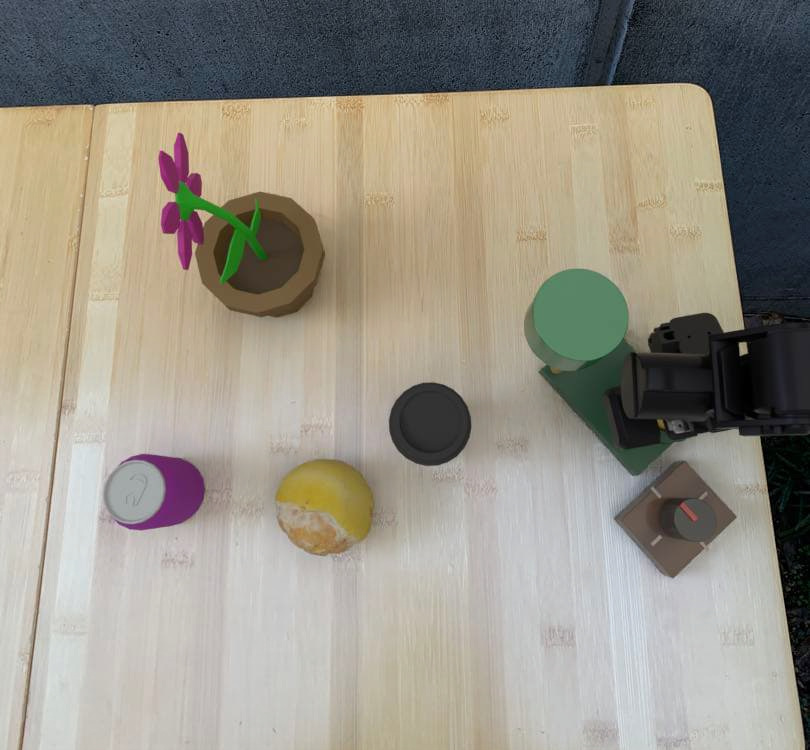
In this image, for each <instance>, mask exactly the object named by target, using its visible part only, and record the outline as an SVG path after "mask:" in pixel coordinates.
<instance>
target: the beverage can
mask: <svg viewBox="0 0 810 750" xmlns="http://www.w3.org/2000/svg"><path fill="white" fill-rule="evenodd" d="M205 490H206V487H205V480H204V477H203V475H202V473H201V472H200V470H199V468H198V467H196V466H195V465H194V464H193V462H190V461H188V460H186V459H184V458H182V457H174V456H167V455H159V454H151V453H140V454H136V455H132V456H130V457H128V458H126V459H125V460H123V461H121V462H120V463H119V464H118V465H117V466H116V467H115V468H114V469H113V470H112V471H111V472H110V473H109V474H108V476H107V478H106V480H105V481H104V484H103V489H102V501H103V503H102V504H103V505H104V507H105V510H106V512H107V514H109V516H110V517H111V518H112V519H113V520H114V521H115V522H116V523H117V524H118V526H119V525H120V526H122V527H124V528H126V529H127V530H133V531H146V530H147V531H148V530H154V529H160V528H167V527H172V526H176V525H181V524H182V523H184V522H187V521H188V520H189V519H191V518H192V517H193V516H194V515H195V514H196V513H197V512H198V511H199V510H200V507H201V505H202V503H203V502H204V497H205Z"/></svg>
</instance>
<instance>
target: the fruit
mask: <svg viewBox="0 0 810 750" xmlns="http://www.w3.org/2000/svg"><path fill="white" fill-rule="evenodd" d="M274 497H275V499H274V500H275V505H276V521H277V524H278V527H279V529H280V531H282V532H283V533H285V534H286V535H287V539H288V540H289V542H291V543H292V544H293V545H294V546H295V547H297V548H299V549H302V550H303V551H304V552H305V553H307V554H309V555H313V556H317V557H328V555H331V554H336V555H340V554H342V553H345V552H347V551H348V550H349V549H351V548H352V547H353V546H354V545H357V544H359V543H361V542H363V541H364V540H366V538H367V537H368V535H369V533H370V530H371V528H372V524H373V520H374V515H375V514H374V513H375V508H376V507H375V500H374V495H373V491H372V489H371V487H370V485H369V484H368V482H367V480H366V478H365V477H364V476H363V474H362V473H361V472H360V471H358V470H357V469H356V468H354V467H353V466H351V465H350V464H348V462H344V461H342V460H338V459H332V458H317V459H313V460H310V461H309V460H308V461H306V462H303V463H302V464H300V465H298V466H297V467H295V468H293V469H291V470H290V472H288V473H287V474H286V476H285V477H284V478H283V479H282V480H281V482H280V484H279V485H278V488H277V490H276V492H275V496H274Z"/></svg>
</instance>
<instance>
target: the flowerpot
mask: <svg viewBox="0 0 810 750" xmlns="http://www.w3.org/2000/svg"><path fill="white" fill-rule="evenodd" d="M185 139H186V138H185V136H184V134H183V133H181V132H177V134H176V138H175V142H174V145H173V155H174V156H173V157H172V155H170V154H169V153H167V152H166V151H164V150H159V152H158V157H157V159H158V167H159V173H160V178H161V181H162V182H163V184H164V186H165V189H166V190H167V192H170V193H173V194H174V197H175V199H174V200H175V201H168V202H167V203H166V204H165V205H164V207H163V208H162V209H161V217H160V227H161V231H162V234H164V235H175V234H176V238H177V239H176V240H177V241H176V242H177V243H176V244H177V254H178V255H177V256H178V258H179V261H180V264H181V268H182V270H184V271H189V269H190V265H191V261H192V259H193V258H192V257H193V243H195V244H196V248H195V251H194V255H195V259H196V264H197V268H198V269H197V270H198V273H199V277H200V281H201V284H202V285H203V286H204V287H205V288H206V289H207V290H208V291H209V292H210V293H211V294H213V296H215V298H217V300H219V301H220V302H221V304H223V306H225V307H226V308H227V309H228V310H229V311H232V312H235V313H239V314H245V315H249V316H253V317H258V318H264V317H271V318H280V317H284V316H287V315H290V314H293V313H297V312H298V311H299V310H300V309H301V308H302V307H303V306H305V304H306V303H308V301H310V300H311V298H312V297H313V296H314V291H315V287H316V286H317V285H318V282H319V279H320V275H321V271H322V268H323V264H324V260H325V257H326V251H325V249H324V245H323V242H322V238H321V235H320V231H319V228H318V225H317V222H316V219H315V218H314V217H313V216H312V215H311V214H310V213H309V212H308V211H306V210H305V209H304V208H303V207H302V206H301V205H300V204H298V202H297V201H295V200H294V199H293V198H292V197H288V196H284V195H279V194H274V193H269V192H264V191H257V192H253V193H250V194H246V195H242V196H239V197H236V198H232V199H229V200H227V201H226V202H225V203H223V205H222V206H221V207H220V206H219V205H216V204H215V203H212V202H211V201H209V200H207V199H204V198H202V194H203V193H202V191H203V181H202V177H201V174H200V173H198V172H191V173H190V158H189V157H190V156H189V149H188V146H187V143H186V140H185ZM196 210H199V211H205V212H206V213H208V214H211V216H210V217H209V218H208V219H207V220H205V222H204V223H203V221H202V219H201V217H200V214H199V213H198V211H196Z"/></svg>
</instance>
